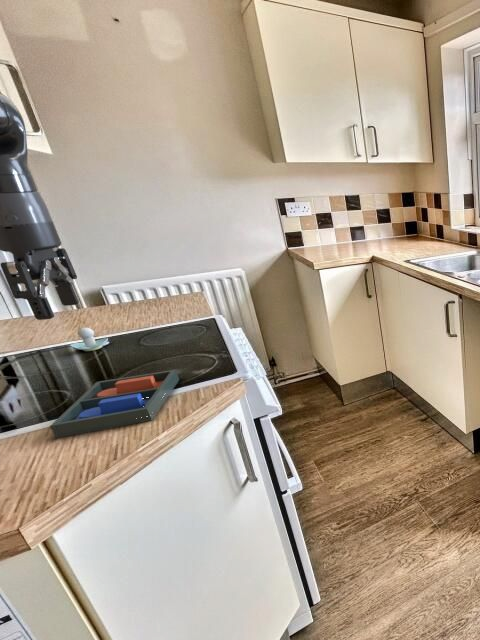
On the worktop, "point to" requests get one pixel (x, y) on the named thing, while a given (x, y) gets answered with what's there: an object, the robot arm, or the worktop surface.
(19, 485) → the worktop surface
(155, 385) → the red long piece
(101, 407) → the blue spoon
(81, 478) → the worktop surface
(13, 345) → the worktop surface
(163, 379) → the sorting tray
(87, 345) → the pacifier
